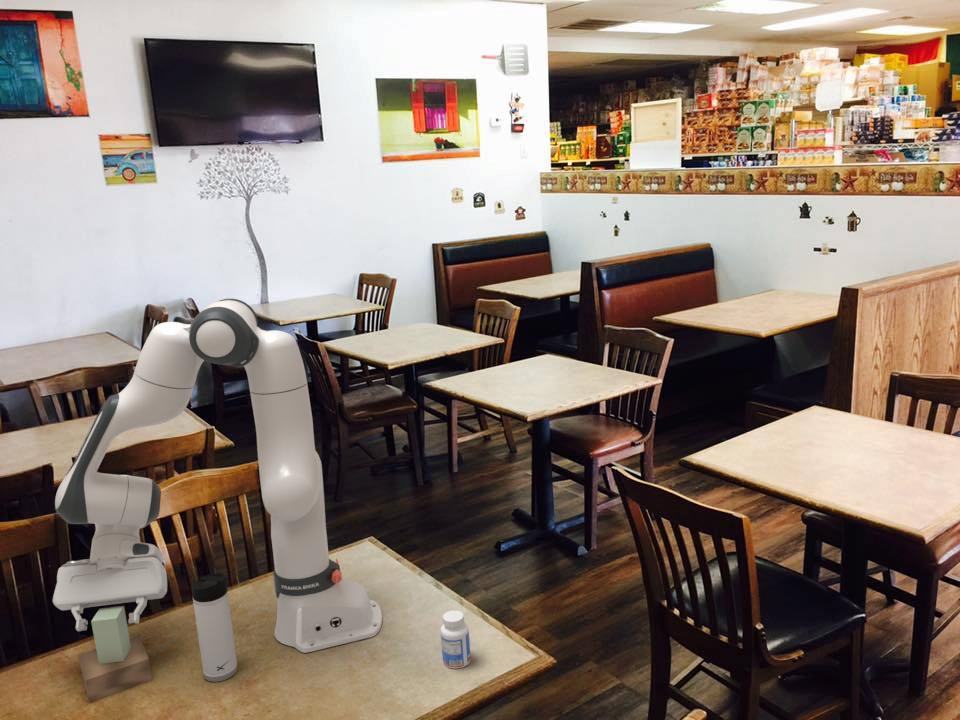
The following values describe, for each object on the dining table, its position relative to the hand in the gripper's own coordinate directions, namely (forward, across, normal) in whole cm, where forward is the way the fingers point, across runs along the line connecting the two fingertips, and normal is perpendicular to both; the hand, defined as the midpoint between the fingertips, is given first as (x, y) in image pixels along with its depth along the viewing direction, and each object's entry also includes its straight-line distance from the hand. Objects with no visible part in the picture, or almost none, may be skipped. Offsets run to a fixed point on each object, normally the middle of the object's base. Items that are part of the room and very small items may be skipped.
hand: (107, 626), depth 147 cm
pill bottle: (+15, +65, +2) cm, 67 cm away
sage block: (+4, 0, +5) cm, 7 cm away
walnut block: (+8, 0, +9) cm, 12 cm away
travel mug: (+10, +20, +6) cm, 23 cm away
